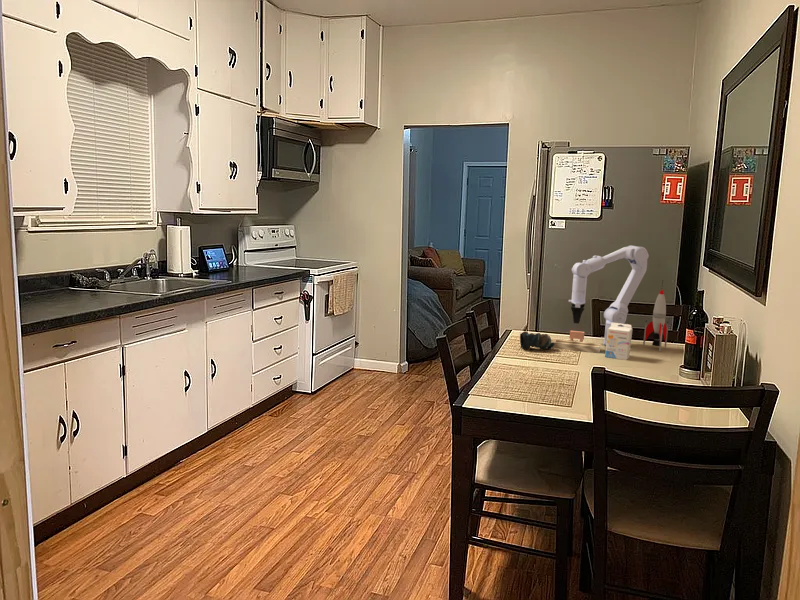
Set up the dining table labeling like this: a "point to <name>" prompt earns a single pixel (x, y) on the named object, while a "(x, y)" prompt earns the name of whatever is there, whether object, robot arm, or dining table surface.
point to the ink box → (618, 341)
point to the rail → (576, 345)
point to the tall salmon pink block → (576, 335)
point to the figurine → (535, 341)
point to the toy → (657, 322)
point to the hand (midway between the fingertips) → (576, 321)
